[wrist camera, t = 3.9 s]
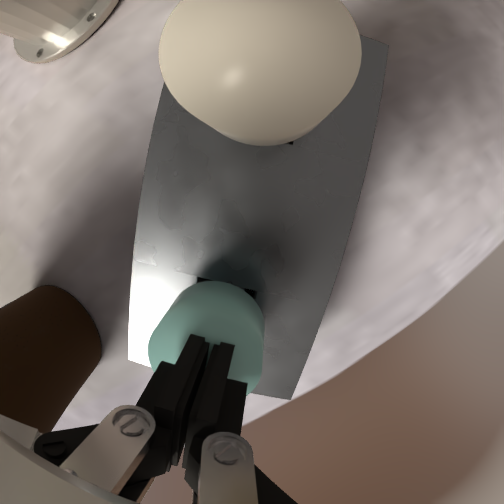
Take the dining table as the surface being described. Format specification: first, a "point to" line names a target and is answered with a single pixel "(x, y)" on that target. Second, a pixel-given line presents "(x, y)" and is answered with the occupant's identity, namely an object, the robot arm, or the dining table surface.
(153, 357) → the teal knob
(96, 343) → the olive oil
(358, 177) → the mount block
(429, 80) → the dining table surface
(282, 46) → the cream knob
